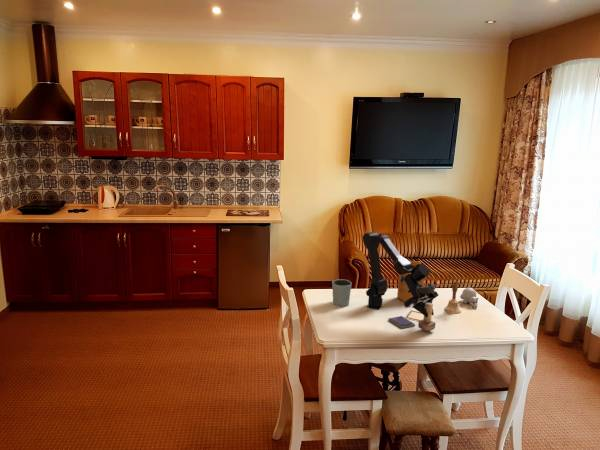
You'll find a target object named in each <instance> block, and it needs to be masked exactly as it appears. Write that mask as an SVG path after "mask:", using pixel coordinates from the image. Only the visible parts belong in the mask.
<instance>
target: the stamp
mask: <svg viewBox="0 0 600 450" xmlns="http://www.w3.org/2000/svg"><path fill="white" fill-rule="evenodd" d="M433 307H434V304H433V302H432V303H425V309H426V311H427V313H428V317H426V316H424V319H423V320H420V321H419V322H418V321H417V322H418V323H417V324H418V325H417V327H418V328H419V329H420V330H421V329H422V330H423V331H425V332H429V331H434V329H436V322H435V321H432V318H433V317H432V309H433ZM433 310H434V309H433ZM431 317H432V318H431Z"/></svg>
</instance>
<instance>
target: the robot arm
mask: <svg viewBox="0 0 600 450" xmlns="http://www.w3.org/2000/svg"><path fill="white" fill-rule="evenodd" d="M362 242H363V245H364V247H365V248H366V249H367V252H368V258H369V265H370V272H371V273H370V274H371V281H370V283H369V288H368V289H367V290H366V291H365V294H366V297H368V302H367V306H366V307H367V308H369V309H374V310H375V309H376V310H380V309H381V308H382V306H383V300H384V299H383V296H385V294H386V293H387V291H388V287H389V286H388V281H387V279H384V277H383V276H382V275H383V274H382V270H381V269H382V268H381V262H380V256H379V247H380V245H381V247H382V248H383V249H384V251H385V253H387V254H386V255H388V257H389V258H390V260H391V261H392V263H393V268H394V271H395V272H396V273H397V274H398V275H399V274H400V275H403V274H407V273H411V274H407V275H406V276H402V277H401V280H400V282H405V283H406V285H407V287H408V289H409V291H408V293H411V294H412V296H413V297H411V298H409V299H408V300H406V301H403V305H404V308H405V309H408V308H412V309H415V311H418V312H420V313H422V314H423V315H424V316H426V317H428V313H427V311H426V309H425V303H432V304H433V301H434V300H435V299H436V298H437V297H438V296H439V293H438V292H437V291H436V286H435V284H434V283H433V282H431V283H427V285H426V286H424V284H423V285H422V284H421V285H420V284H419V282H418V281H421V280H423V281H424V280H425V279H426V278H427V277H428V276H429V275H430V270H429V268H428V267H427V266H425V265H423V264H422V262H421V263H420V264H418V265H417V266H416V267H415V266H413V265H412V264H411V263H410V262H409V260H408V259H407V258H405V257H404V256H402V255H401V253H400V252H399V251H398V249H397V248H396V247H395V245H394V244H393V242H392V241H391V239H390V236H389V235H387V234H383V233H378V232H376V231H372V232H365V233H364V234H363V236H362ZM432 315H433V316H434V309H432Z"/></svg>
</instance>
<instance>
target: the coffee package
mask: <svg viewBox="0 0 600 450" xmlns="http://www.w3.org/2000/svg"><path fill="white" fill-rule="evenodd" d="M408 261H409V260H408ZM409 262H410V263H411V264H412V265H413V266H415V267H416V266H417V265H418V264H420V263H422V261H421V260H420V261H418V260H417V261H409ZM407 274H411V273H407ZM407 274H403V275H400V274H398V282H397V283H398V284H397V293H396V294H397V296H396V297H397V298H398V299H400V301H403V302H405V301H406V300H408V299H409V298H411V297H413V296H412V294H411V293H408V291H409V289H408V287H407V285H406V283H405V282H400V280H401V277H402V276H406V275H407ZM418 282H419V284H420V285H421V284H422V285H423V286H424V279H423V280H421V281H418Z"/></svg>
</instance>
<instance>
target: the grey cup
mask: <svg viewBox="0 0 600 450" xmlns="http://www.w3.org/2000/svg"><path fill="white" fill-rule="evenodd" d="M331 285H332V287H331V288H332V304H333V306H335V305H336V307H338V306H339V307H340V308H346V307H348V306H350V299H351V298H350V296H351V290H352V282H351V280H348V279H343V278H341V279H340V278H339V279H334V280H332V282H331Z"/></svg>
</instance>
